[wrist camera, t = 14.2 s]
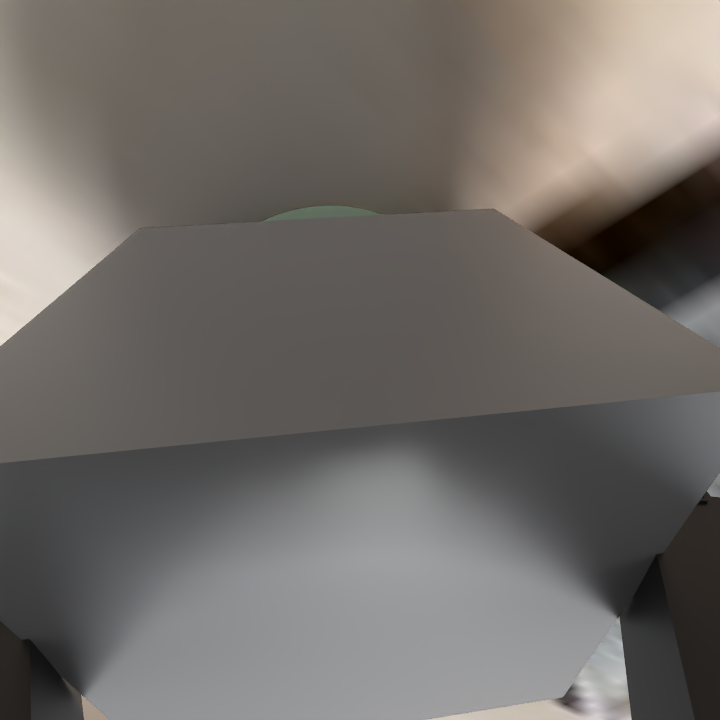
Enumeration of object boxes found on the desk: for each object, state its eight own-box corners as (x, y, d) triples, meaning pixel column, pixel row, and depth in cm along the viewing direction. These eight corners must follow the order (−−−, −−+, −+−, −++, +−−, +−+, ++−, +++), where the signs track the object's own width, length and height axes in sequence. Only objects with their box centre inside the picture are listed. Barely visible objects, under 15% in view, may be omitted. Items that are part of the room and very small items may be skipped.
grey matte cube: (140, 227, 11) (-155, 478, 4) (493, 208, 12) (780, 385, 5) (219, 474, 17) (157, 763, 10) (456, 449, 18) (562, 697, 11)
